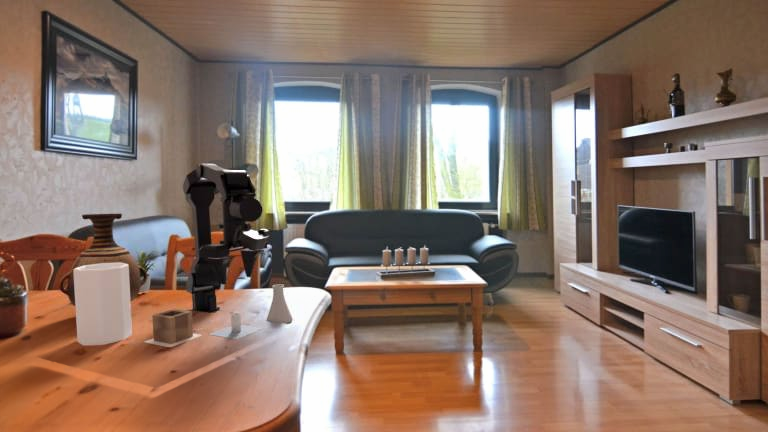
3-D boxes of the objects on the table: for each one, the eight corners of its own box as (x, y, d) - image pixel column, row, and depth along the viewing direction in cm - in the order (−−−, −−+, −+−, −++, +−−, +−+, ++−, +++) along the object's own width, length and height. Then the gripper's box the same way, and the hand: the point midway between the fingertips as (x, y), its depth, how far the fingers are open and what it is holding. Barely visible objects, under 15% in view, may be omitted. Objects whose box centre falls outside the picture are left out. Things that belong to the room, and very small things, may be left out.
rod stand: (143, 346, 105) (142, 328, 104) (176, 335, 113) (175, 317, 113) (170, 352, 101) (169, 333, 101) (202, 339, 109) (201, 322, 109)
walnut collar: (153, 340, 105) (152, 315, 105) (175, 333, 111) (174, 309, 110) (171, 344, 103) (170, 318, 102) (192, 336, 108) (191, 311, 108)
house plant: (173, 287, 169) (171, 244, 168) (155, 296, 155) (153, 249, 154) (135, 288, 168) (132, 245, 167) (113, 297, 155) (111, 250, 154)
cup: (74, 354, 101) (69, 272, 100) (81, 339, 111) (76, 265, 110) (131, 345, 106) (127, 267, 105) (133, 332, 116) (129, 260, 115)
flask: (286, 326, 119) (285, 288, 118) (260, 325, 120) (259, 288, 120) (296, 318, 126) (295, 283, 125) (272, 317, 128) (271, 282, 127)
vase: (56, 328, 121) (49, 216, 119) (71, 311, 137) (65, 213, 135) (146, 317, 129) (141, 213, 127) (150, 303, 146) (145, 210, 144)
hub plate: (208, 339, 109) (207, 314, 109) (235, 328, 118) (235, 305, 117) (237, 344, 106) (236, 318, 105) (263, 332, 114) (262, 308, 113)
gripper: (233, 223, 103) (236, 291, 104) (283, 217, 120) (284, 275, 121) (196, 222, 107) (199, 287, 108) (249, 217, 124) (251, 273, 125)
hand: (236, 280), depth 115 cm, fingers open, 9 cm apart
